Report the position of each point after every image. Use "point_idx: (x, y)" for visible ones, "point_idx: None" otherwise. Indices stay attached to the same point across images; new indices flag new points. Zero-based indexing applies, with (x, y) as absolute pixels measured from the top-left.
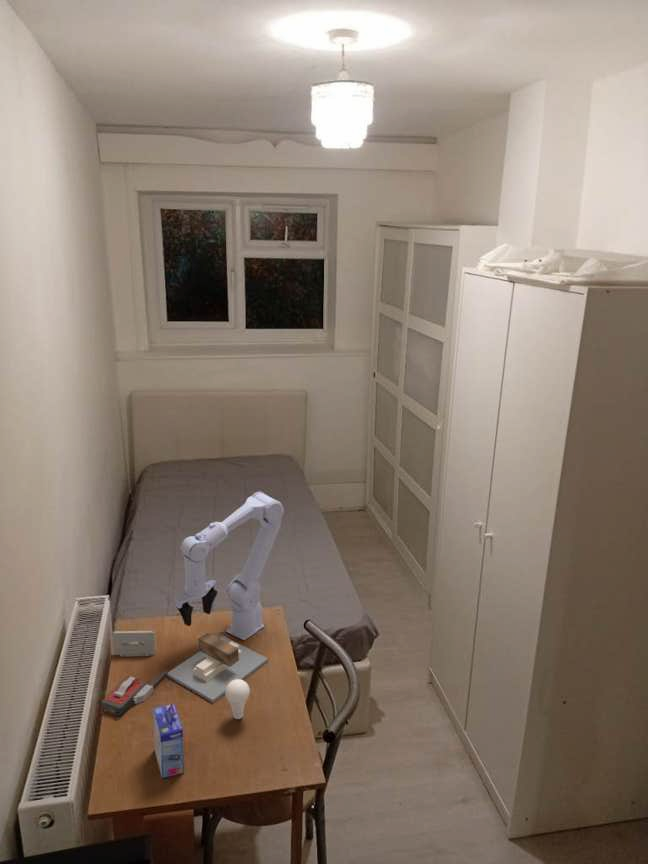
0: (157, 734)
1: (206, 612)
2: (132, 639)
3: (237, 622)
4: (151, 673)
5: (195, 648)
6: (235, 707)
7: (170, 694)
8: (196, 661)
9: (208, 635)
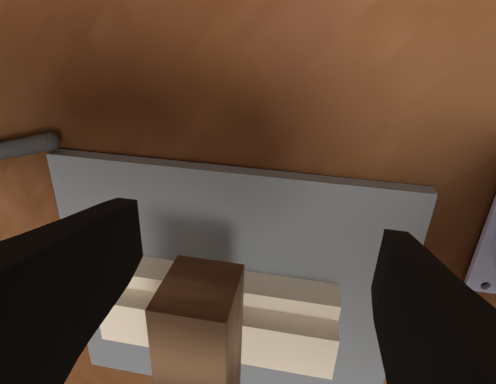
0: None
1: (377, 271)
2: None
3: None
4: (14, 72)
5: (280, 116)
6: None
7: (18, 228)
8: (186, 210)
9: (207, 340)
